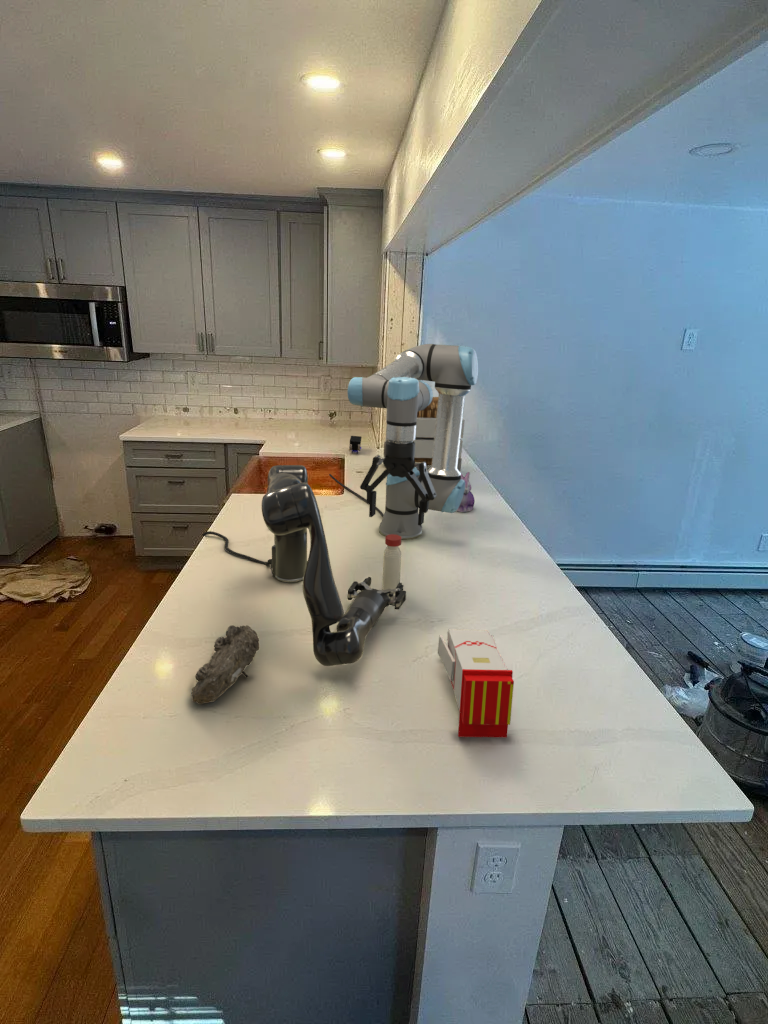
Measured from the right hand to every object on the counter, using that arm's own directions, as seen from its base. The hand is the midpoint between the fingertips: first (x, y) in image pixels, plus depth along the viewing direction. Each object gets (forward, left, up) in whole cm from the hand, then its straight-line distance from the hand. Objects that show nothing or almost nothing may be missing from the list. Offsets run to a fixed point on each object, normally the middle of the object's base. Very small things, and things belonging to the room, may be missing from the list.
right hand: (396, 519), depth 150 cm
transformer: (-85, +93, -22) cm, 128 cm away
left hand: (+3, -5, -16) cm, 17 cm away
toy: (+42, -15, -22) cm, 50 cm away
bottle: (0, 0, -22) cm, 22 cm away
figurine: (-37, +71, -22) cm, 83 cm away
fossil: (+7, -52, -22) cm, 57 cm away
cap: (0, 0, -5) cm, 5 cm away
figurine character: (-135, +92, -22) cm, 165 cm away
